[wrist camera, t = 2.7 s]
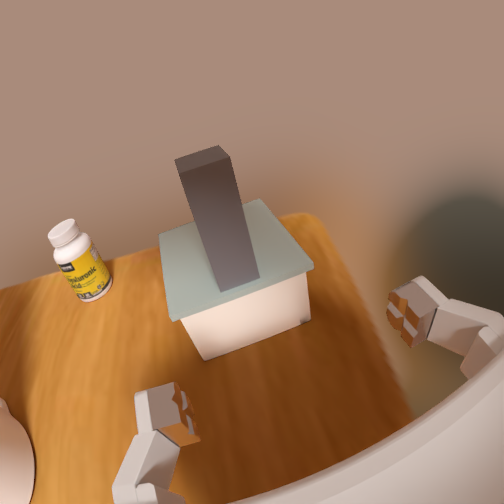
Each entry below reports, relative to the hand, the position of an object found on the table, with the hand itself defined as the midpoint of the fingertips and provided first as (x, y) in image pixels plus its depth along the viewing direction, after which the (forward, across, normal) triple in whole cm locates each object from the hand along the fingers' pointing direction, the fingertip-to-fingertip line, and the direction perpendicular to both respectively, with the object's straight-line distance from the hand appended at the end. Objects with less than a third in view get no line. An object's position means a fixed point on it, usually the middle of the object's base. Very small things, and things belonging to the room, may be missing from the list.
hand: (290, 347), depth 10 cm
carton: (+16, 0, +13) cm, 21 cm away
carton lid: (+16, 0, +6) cm, 17 cm away
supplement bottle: (+27, +17, +13) cm, 35 cm away
